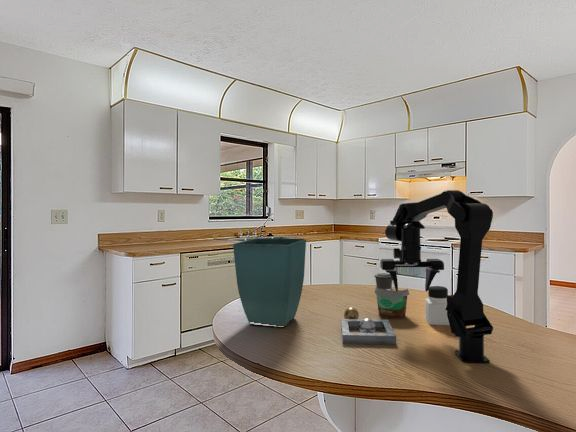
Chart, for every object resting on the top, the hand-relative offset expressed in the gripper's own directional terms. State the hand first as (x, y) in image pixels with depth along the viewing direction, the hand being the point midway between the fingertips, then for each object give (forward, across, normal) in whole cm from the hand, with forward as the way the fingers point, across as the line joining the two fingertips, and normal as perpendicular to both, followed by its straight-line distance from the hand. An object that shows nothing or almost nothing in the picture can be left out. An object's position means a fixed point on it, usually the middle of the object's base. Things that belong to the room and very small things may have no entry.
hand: (411, 291), depth 115 cm
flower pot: (+12, +46, -4) cm, 48 cm away
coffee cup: (+12, +3, -41) cm, 43 cm away
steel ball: (+10, +15, +7) cm, 19 cm away
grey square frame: (+12, +15, +7) cm, 20 cm away
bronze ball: (+10, +19, -5) cm, 22 cm away
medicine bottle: (+12, -10, -7) cm, 17 cm away
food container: (+12, +5, -12) cm, 18 cm away
